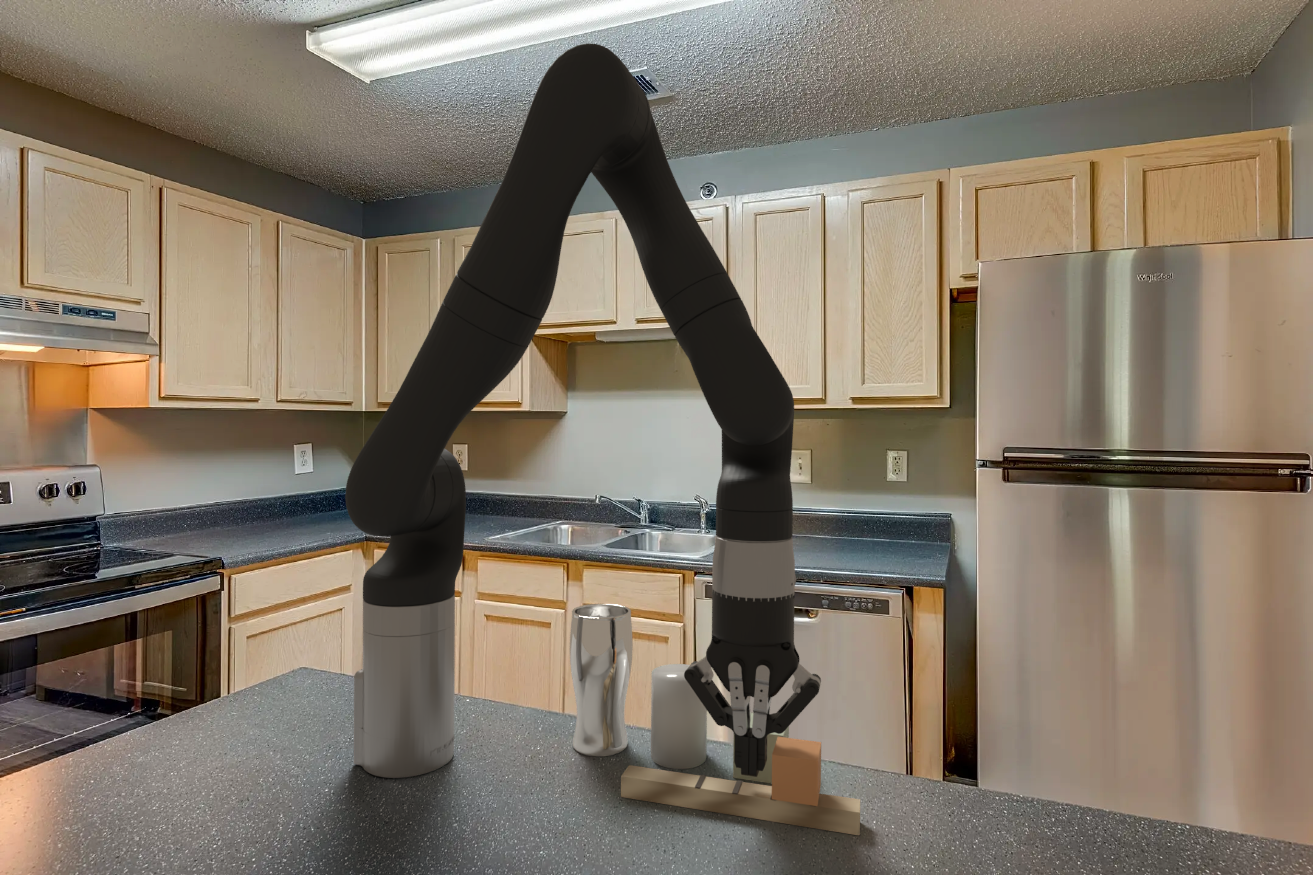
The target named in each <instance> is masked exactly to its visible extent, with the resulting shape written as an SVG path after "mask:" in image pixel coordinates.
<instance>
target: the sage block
mask: <svg viewBox="0 0 1313 875" xmlns="http://www.w3.org/2000/svg"><path fill="white" fill-rule="evenodd" d="M750 712H751V711H750ZM753 713H754V712H751V722H750V728H752V725H753ZM778 737H785V738H790V725H789V726H788V727H787V729H786V730H785V731H784V732H783V733H781V734H777V733H775V732H774V733H770V734H768V735H767V761H766V764H765V767H764V769H763V771H759V773H758V776H757V777H754V776H747V775H741V768H736V765H735V762H734V741H735V736H734V735H733V740H732V741H733V742H732V743H733V746H732V747H733V749H732V750H733V751H732V752H733V755H732V756H733V758H732V760H733V761H732V766H733V767H732V778H733V779H739V780H747V781H755V782H761V783H766V784H767V783H768V784H772V753H773V750H774V747H775V744H776V741H777V738H778Z"/></svg>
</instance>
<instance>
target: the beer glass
mask: <svg viewBox="0 0 1313 875" xmlns="http://www.w3.org/2000/svg"><path fill="white" fill-rule="evenodd" d="M632 626H633V623H632V610H631V608H629V606H625V605H622V604H617V603H615V604H614V603H590V604H589V603H587V604H583V605H579V606H577V607H574V608H573V609H572V610H571V623H570V632H569V664H570V665H569V666H570V672H571V680H572V686H573V693H574V696H575V698H574V699H575V704H576V722H575V729H574V733H573V738H572V747H573V748H574V751H576V752H578V753H579V754H580V755H584V756H587V757H588V756H589V757H598V758H599V757H610V756H613V755H617V754H619V753H621V752H623V751H624V750H625V749H626V748H628V744H629V742H628V734H627V728H626V721H625V720H626V719H625V707H626V699H627V694H628V688H629V682H630V677H631V672H632V662H633V644H634V643H633V642H634V641H633V627H632Z"/></svg>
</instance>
